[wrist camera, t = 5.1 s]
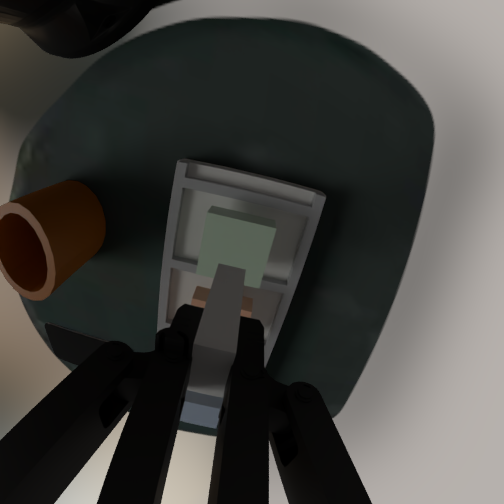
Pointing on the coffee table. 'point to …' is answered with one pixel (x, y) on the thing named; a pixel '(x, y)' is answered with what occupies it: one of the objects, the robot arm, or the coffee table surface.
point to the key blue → (201, 409)
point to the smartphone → (71, 343)
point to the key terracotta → (202, 295)
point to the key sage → (236, 243)
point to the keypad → (247, 201)
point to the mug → (49, 237)
